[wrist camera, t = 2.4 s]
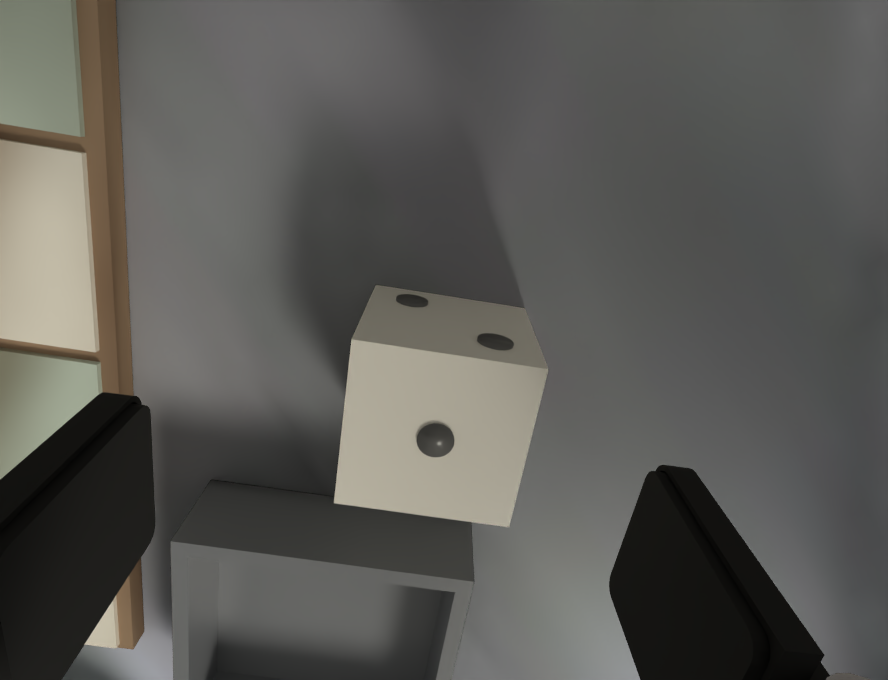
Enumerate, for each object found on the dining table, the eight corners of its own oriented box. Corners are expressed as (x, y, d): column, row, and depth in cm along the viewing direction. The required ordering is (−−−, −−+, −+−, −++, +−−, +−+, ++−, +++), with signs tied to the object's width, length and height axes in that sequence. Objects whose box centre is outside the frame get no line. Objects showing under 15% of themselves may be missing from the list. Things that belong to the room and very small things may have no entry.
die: (524, 305, 17) (550, 367, 13) (495, 435, 19) (509, 529, 14) (373, 281, 17) (348, 337, 13) (358, 415, 18) (330, 504, 14)
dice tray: (470, 516, 20) (474, 581, 17) (431, 694, 23) (429, 773, 20) (211, 479, 19) (170, 541, 16) (208, 666, 23) (174, 744, 20)
